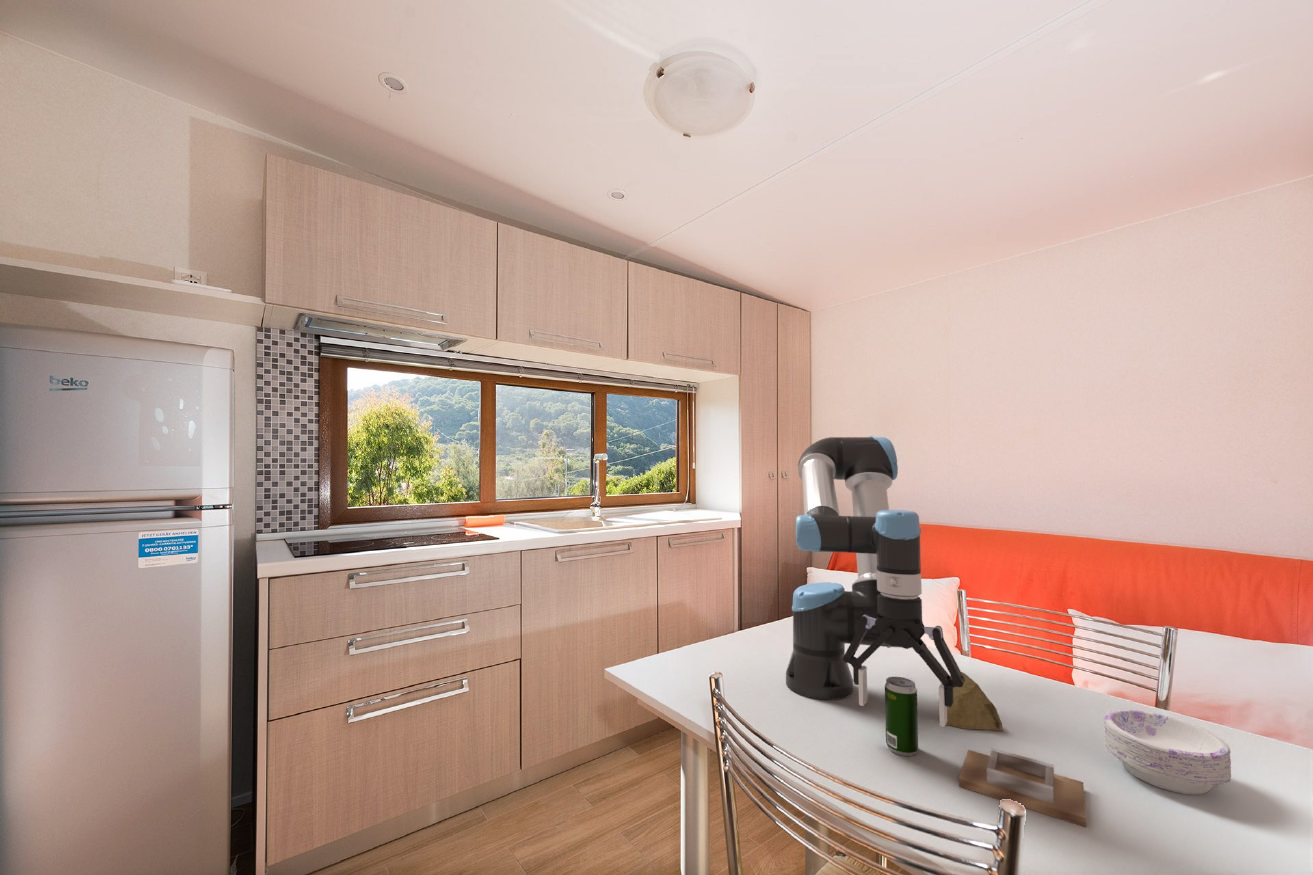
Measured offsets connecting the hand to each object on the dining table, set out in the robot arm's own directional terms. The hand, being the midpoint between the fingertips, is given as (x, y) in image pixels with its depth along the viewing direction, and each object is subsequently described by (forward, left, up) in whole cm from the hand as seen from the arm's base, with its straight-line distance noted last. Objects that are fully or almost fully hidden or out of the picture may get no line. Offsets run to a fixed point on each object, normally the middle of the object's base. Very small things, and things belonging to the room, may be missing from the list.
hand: (901, 713), depth 97 cm
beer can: (0, 0, -7) cm, 7 cm away
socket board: (+18, -1, -7) cm, 19 cm away
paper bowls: (+37, +17, -7) cm, 41 cm away
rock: (+9, +18, -7) cm, 22 cm away
